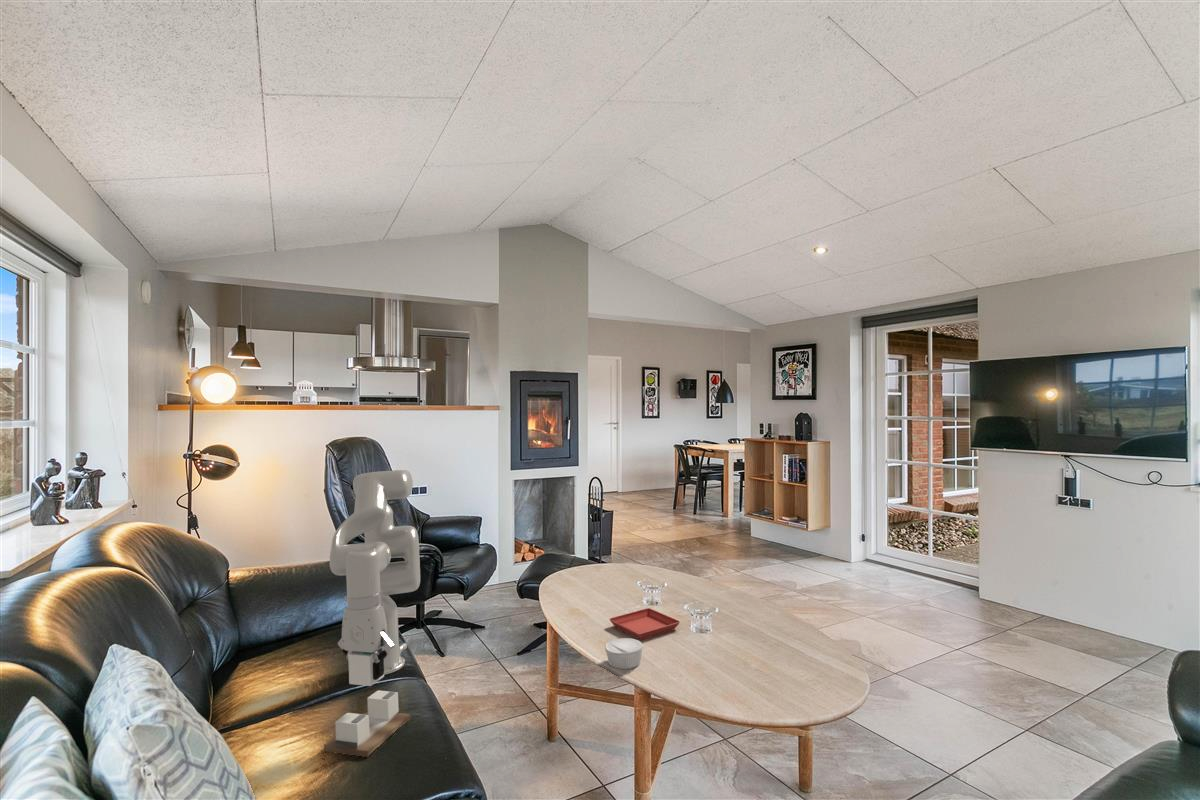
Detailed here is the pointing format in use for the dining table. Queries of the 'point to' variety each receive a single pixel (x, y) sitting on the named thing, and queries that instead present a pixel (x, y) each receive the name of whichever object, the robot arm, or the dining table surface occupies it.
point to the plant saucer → (644, 623)
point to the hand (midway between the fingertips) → (366, 675)
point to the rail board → (378, 735)
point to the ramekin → (624, 653)
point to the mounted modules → (367, 717)
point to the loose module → (361, 668)
